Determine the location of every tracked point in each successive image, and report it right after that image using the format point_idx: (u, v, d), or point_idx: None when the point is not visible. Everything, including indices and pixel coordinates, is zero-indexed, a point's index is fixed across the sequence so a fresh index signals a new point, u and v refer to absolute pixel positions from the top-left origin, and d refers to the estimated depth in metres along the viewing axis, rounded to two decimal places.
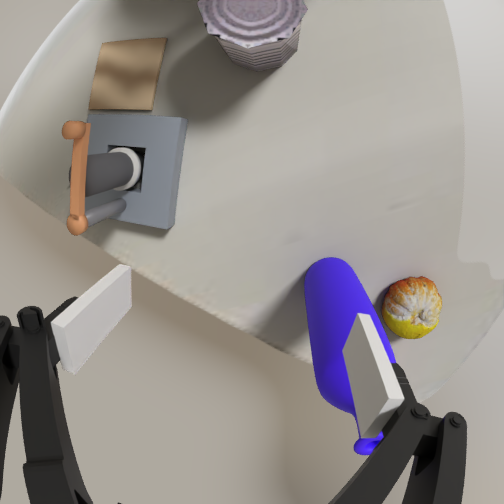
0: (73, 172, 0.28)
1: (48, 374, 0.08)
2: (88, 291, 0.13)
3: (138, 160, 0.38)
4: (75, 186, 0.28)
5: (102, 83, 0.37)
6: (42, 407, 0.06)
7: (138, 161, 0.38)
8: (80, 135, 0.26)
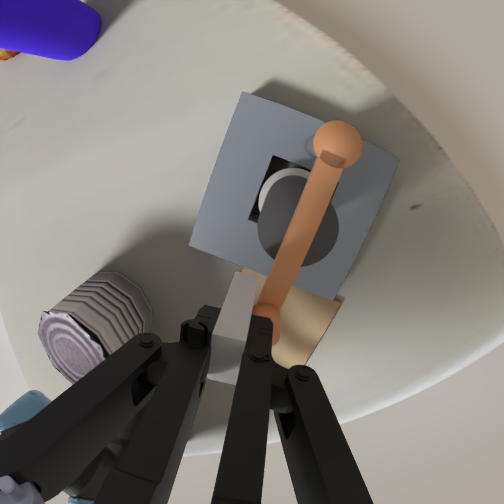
0: (301, 249, 0.16)
1: (191, 395, 0.09)
2: (227, 299, 0.15)
3: None
4: (305, 221, 0.16)
5: (308, 327, 0.34)
6: (167, 425, 0.07)
7: None
8: (255, 310, 0.17)
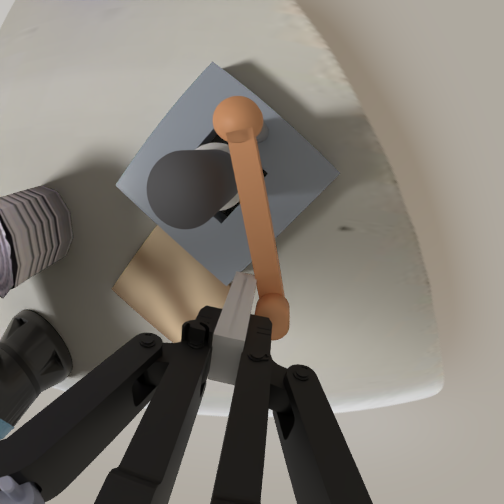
0: (264, 229, 0.16)
1: (192, 395, 0.09)
2: (228, 299, 0.15)
3: None
4: (251, 202, 0.16)
5: (201, 305, 0.35)
6: (168, 425, 0.07)
7: None
8: (257, 306, 0.17)
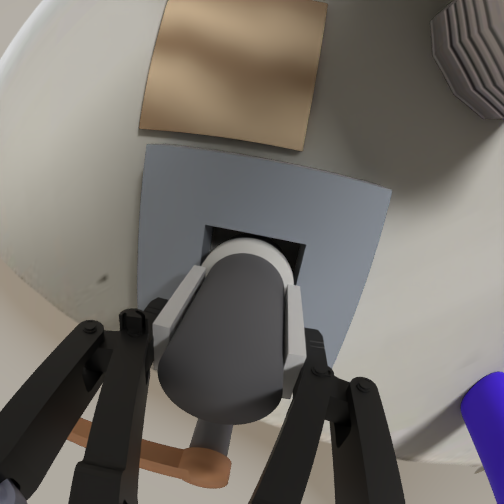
0: None
1: (138, 381, 0.09)
2: (177, 291, 0.14)
3: (292, 273, 0.19)
4: None
5: (174, 74, 0.18)
6: (120, 413, 0.07)
7: (292, 276, 0.19)
8: None
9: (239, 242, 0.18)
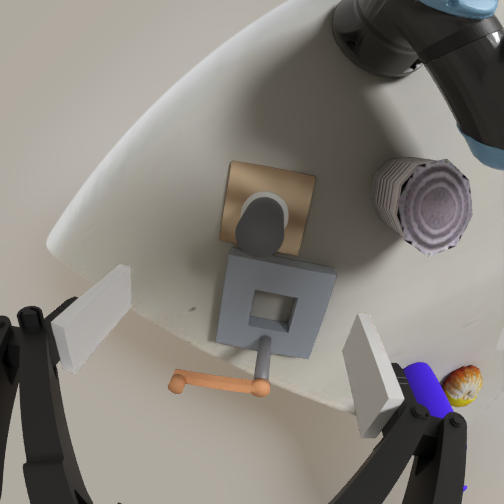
0: (213, 386, 0.37)
1: (48, 374, 0.08)
2: (88, 291, 0.13)
3: (287, 208, 0.38)
4: (225, 386, 0.37)
5: (237, 214, 0.43)
6: (42, 407, 0.06)
7: (287, 209, 0.38)
8: (181, 378, 0.36)
9: (262, 192, 0.37)
